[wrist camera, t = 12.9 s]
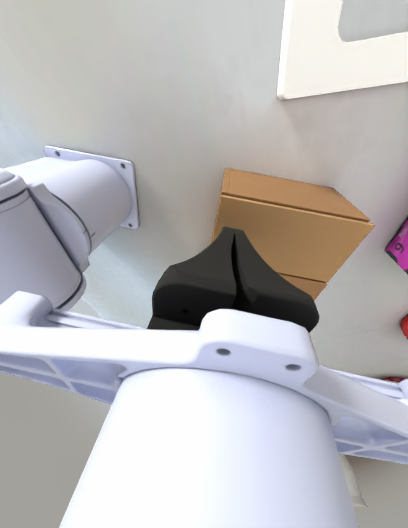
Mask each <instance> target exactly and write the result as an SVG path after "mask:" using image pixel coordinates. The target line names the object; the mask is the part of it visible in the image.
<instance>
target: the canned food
mask: <svg viewBox="0 0 408 528" xmlns="http://www.w3.org/2000/svg"><path fill="white" fill-rule="evenodd" d="M401 328H402V331H403V333H404V335H405V336H406V337H407V339H408V315H407V316H406V317H405V318H404V319H403V320H402V322H401Z"/></svg>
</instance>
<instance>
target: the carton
mask: <svg viewBox="0 0 408 528" xmlns="http://www.w3.org/2000/svg"><path fill="white" fill-rule="evenodd" d="M221 195H226V196H231V197H236V198H242V199H247V200H252V201H257V202H263V203H268V204H273V205H278V206H284V207H289V208H294V209H299V210H305V211H310V212H315V213H321V214H326V215H331V216H336V217H342V218H347V219H352V220H357V221H363V222H369V221H370V219H369V218H368V217H366V216H365V215H364V214H363V213H362V212H361V211H359V210H358V209H357V208H356V207H355V206H353V205H352V204H351V203H350V202H349V201H348V200H346V199H345V198H344V197H343V196H342V195H341V194H339V193H338V192H337V191H336V190H335V189H334V188H329V187H324V186H319V185H314V184H308V183H303V182H298V181H292V180H287V179H282V178H276V177H271V176H266V175H260V174H255V173H250V172H245V171H239V170H234V169H229V168H226V169H225V173H224V179H223V184H222V189H221V194H220V199H221ZM220 199H219V204H220ZM219 204H218V209H219ZM218 209H217V214H218ZM217 214H216V219H217ZM216 219H215V224H216ZM215 224H214V229H215ZM214 229H213V234H214ZM213 234H212V239H213ZM211 243H212V240H211ZM277 273H278V272H277ZM278 274H279V275H280V276H281V277H283V278H284V279H285V280H287V281H288V282H290V283H291V284H293V285H294V286H296V287H297V288H299V289H301V290H302V291H304V292H306V293H307V294H309V295H311V296H312V298H313V300H315V299H316V298H317V297H318V295H319V294H320V293H321V292H322V290H323V289H324V288H325V287H326V285H327V283H326V282H323V281H319V280H314V279H309V278H304V277H299V276H293V275H288V274H283V273H278Z"/></svg>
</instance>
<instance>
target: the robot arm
mask: <svg viewBox="0 0 408 528" xmlns="http://www.w3.org/2000/svg"><path fill="white" fill-rule="evenodd" d="M44 152H45V155H46V157H45V158H42V159H38V160H34V161H30V162H27V163H23V164H19V165H16V166H12V167H8V168H4V169H0V372H1V373H5V374H9V375H13V376H18V377H21V378H25V379H28V380H32V381H36V382H39V383H43V384H46V385H50V386H53V387H56V388H59V389H63V390H66V391H69V392H72V393H76V394H79V395H82V396H86V397H88V398H92V399H95V400H98V401H102V402H105V403H108V404H111V405H112V406H111V408H110V410H109V413H108V415H107V418H106V420H105V422H104V424H103V427H102V429H101V431H100V434H99V436H98V439H97V441H96V443H95V445H94V448H93V450H92V453H91V455H90V457H89V459H88V462H87V464H86V466H85V469H84V471H83V473H82V475H81V478H80V480H79V483H78V485H77V487H76V489H75V492H74V494H73V496H72V499H71V501H70V504H69V506H68V508H67V510H66V513H65V515H64V517H63V520H62V523H61V524H60V527H59V528H359V526H358V522H357V518H356V515H355V511H354V508H353V504H352V500H351V497H350V493H349V490H348V486H347V482H346V479H345V475H344V472H343V468H342V465H341V461H340V457H339V454H338V453H340V454H347V455H354V456H360V457H367V458H373V459H379V460H385V461H391V462H397V463H402V464H408V379H405V380H403V381H401V382H399V384H397V383H392V382H388V381H383V380H379V379H374V378H370V377H365V376H360V375H356V374H351V373H347V372H342V371H338V370H333V369H329V368H326V367H324V366H322V365H320V364H319V363H318V360H317V356H316V353H315V350H314V346H313V343H312V340H311V336H310V334H309V332H310V331H311V330H312V329H313V328H314V327H315V326H316V325H317V323H318V321H319V314H318V311H317V308H316V305H315V303H314V300H313V298H312V296H311V295H309V294H307V293H306V292H304V291H302V290H301V289H299V288H297V287H296V286H294V285H293V284H291V283H290V282H288V281H287V280H285V279H284V278H283V277H281V276H280V275H279V274H278V273H277V272H275V271H274V270H273V269H272V268H271V267H270V266H269V265H268V264H267V263H266V262H265V261H264V260H263V259H262V258H261V256H260V255H259V254H258V253H257V251H256V250H255V249H254V247H253V246H252V244H251V243H250V241H249V239H248V238H247V236H246V234H245V232H244V231H243V230H240V229H235V228H230V227H225V226H224V227H223V228H222V230H221V232H220V234H219V235H218V237H217V238H216V239H215V240H214V241H213V242H212V243H211V244H210V245H209V246H208V247H207V248H206V249H205V250H203V251H202V252H201V253H199V254H198V255H196V256H195V257H193V258H191V259H189V260H187V261H184V262H182V263H178V264H175V265H172V266H169V268H168V269H167V270H166V271H165V272H164V274H163V275H162V277H161V278H160V280H159V281H158V283H157V285H156V287H155V289H154V292H153V296H152V308H153V316H152V318H151V320H150V323H149V325H148V328H142V327H138V326H133V325H129V324H124V323H119V322H115V321H110V320H106V319H101V318H97V317H92V316H87V315H83V314H78V313H74V312H69V311H68V310H70V309H71V308H72V307H73V306H74V305H75V304H76V303H77V301H78V300H79V299H80V298H81V296H82V295H83V293H84V291H85V289H86V279H85V277H84V275H83V274H82V273H83V272H84V271H85V270H86V269H87V267H88V266H89V265H90V263H89V261H88V256H89V255H90V254H91V253H92V252H93V251H94V250H95V249H96V248H97V247H98V246H99V245H100V244H101V243H102V242H103V241H104V240H105V239H106V238H107V237H108V236H109V235H110V234H111V233H112V232H113V231H114V230H115V229H116V228H117V227H118V226H120V227H125V228H130V229H138V227H139V219H138V207H137V196H136V185H135V174H134V165H133V164H132V162H130V161H127V160H121V159H116V158H111V157H106V156H100V155H95V154H90V153H84V152H79V151H74V150H69V149H63V148H58V147H53V146H45V147H44ZM58 152H59V153H60V155H59V154H58ZM122 163H123V164H125V166H126V168H124V167H123V165H122ZM130 224H132V226H131V225H130Z"/></svg>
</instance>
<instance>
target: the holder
mask: <svg viewBox="0 0 408 528" xmlns="http://www.w3.org/2000/svg"><path fill="white" fill-rule="evenodd" d="M342 3H343V0H285V11H284V22H283V33H282V43H281V54H280V65H279V76H278V87H277V97H278V99H280V100H285V99H292V98H299V97H305V96H312V95H319V94H326V93H333V92H340V91H347V90H353V89H360V88H367V87H374V86H381V85H388V84H395V83H402V82H408V31H407V32H402V33H397V34H391V35H386V36H380V37H375V38H369V39H364V40H359V41H353V42H344V41H343V40H342V39H341V38H340V37H339V34H338V23H339V18H340V13H341V8H342Z"/></svg>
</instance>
